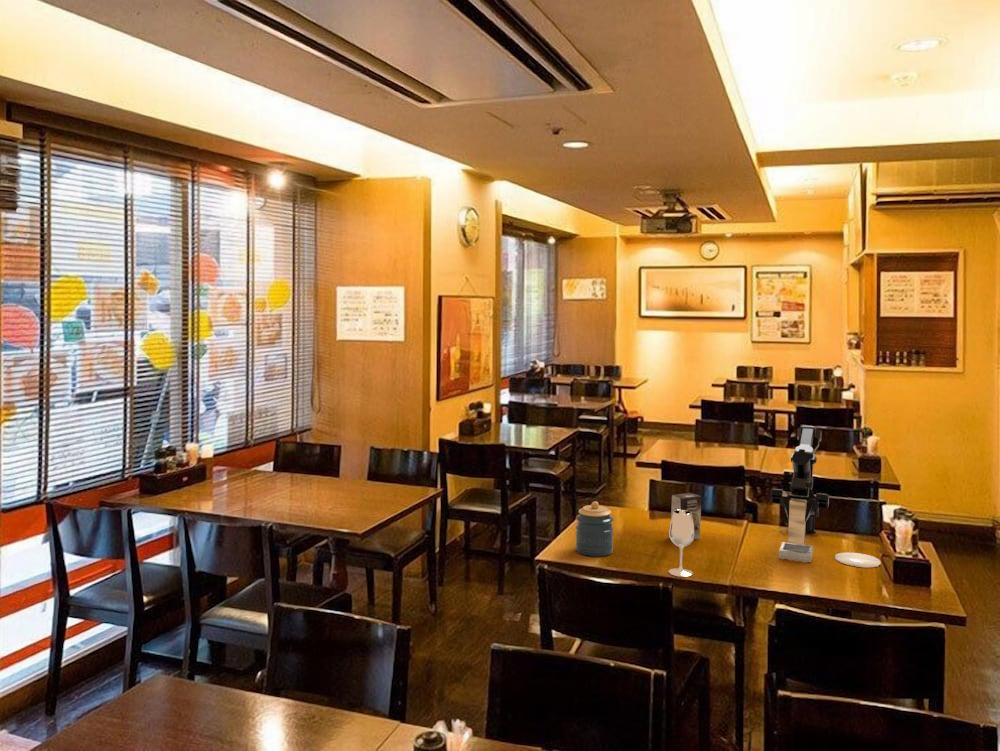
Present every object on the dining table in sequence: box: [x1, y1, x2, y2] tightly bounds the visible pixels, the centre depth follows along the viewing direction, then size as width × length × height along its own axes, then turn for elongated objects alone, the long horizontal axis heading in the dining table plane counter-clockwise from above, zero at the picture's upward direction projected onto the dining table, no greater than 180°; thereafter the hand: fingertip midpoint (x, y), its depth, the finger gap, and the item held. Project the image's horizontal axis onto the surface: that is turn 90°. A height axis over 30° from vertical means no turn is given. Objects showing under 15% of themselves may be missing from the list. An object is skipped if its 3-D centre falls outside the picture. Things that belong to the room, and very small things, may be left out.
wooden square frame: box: [778, 541, 814, 563], centre depth 272 cm, size 10×10×3 cm
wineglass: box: [668, 510, 694, 578], centre depth 254 cm, size 8×8×20 cm
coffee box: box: [670, 492, 702, 541], centre depth 292 cm, size 9×6×16 cm
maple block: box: [787, 498, 807, 545], centre depth 271 cm, size 5×5×14 cm
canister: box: [575, 501, 615, 557], centre depth 276 cm, size 13×13×18 cm
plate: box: [834, 551, 882, 569], centre depth 268 cm, size 14×14×1 cm
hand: (797, 519), depth 270 cm, fingers closed on maple block, 5 cm apart
